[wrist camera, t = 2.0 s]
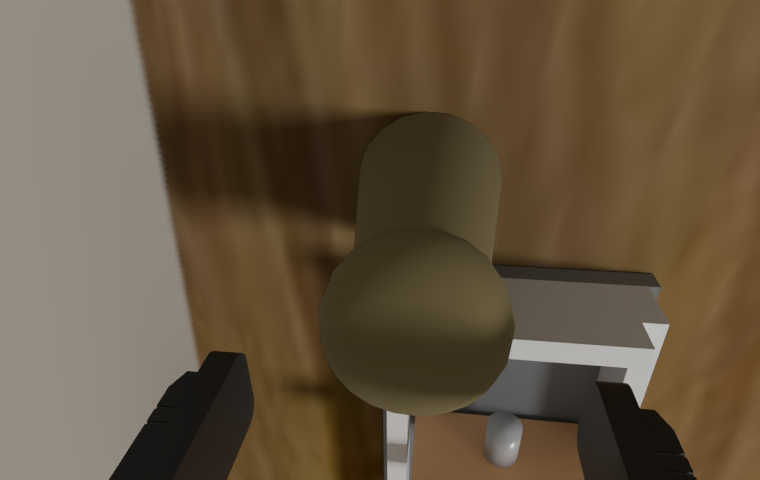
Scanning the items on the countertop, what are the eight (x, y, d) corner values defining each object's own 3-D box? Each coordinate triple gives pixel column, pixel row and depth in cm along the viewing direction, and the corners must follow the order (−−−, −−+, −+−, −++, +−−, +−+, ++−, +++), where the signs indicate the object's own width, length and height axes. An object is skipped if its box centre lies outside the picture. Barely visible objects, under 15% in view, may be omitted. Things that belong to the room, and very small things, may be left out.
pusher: (416, 382, 26) (407, 491, 21) (588, 396, 25) (623, 514, 20) (415, 428, 28) (406, 539, 23) (575, 443, 27) (604, 563, 22)
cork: (421, 265, 24) (400, 478, 14) (330, 173, 22) (238, 348, 13) (532, 190, 21) (593, 391, 12) (439, 79, 19) (425, 212, 10)
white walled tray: (383, 258, 24) (368, 328, 20) (653, 273, 23) (699, 352, 18) (386, 492, 33) (376, 574, 29) (577, 512, 32) (596, 602, 27)
